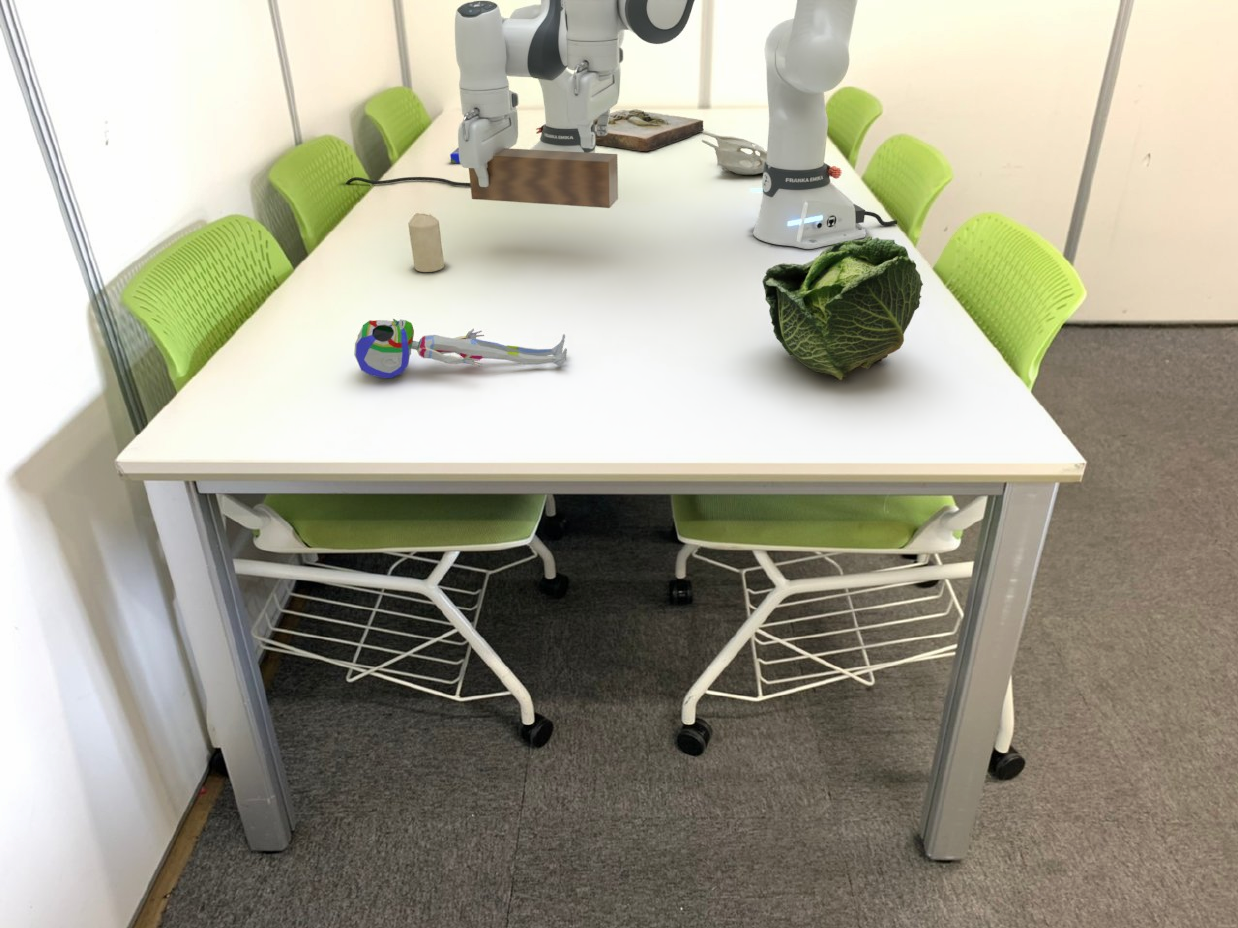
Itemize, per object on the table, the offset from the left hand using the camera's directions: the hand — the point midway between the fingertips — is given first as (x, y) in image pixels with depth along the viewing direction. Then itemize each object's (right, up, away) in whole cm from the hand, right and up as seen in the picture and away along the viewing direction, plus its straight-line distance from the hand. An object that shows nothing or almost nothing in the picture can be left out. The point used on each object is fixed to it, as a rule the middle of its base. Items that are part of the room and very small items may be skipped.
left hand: (492, 180), depth 169 cm
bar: (+10, -4, -1) cm, 11 cm away
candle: (-12, -17, -1) cm, 20 cm away
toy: (+1, -40, -37) cm, 54 cm away
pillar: (-18, +30, +74) cm, 82 cm away
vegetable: (+56, -39, -38) cm, 78 cm away
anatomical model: (+57, +19, +54) cm, 80 cm away
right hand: (+20, +4, -9) cm, 22 cm away
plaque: (+28, +41, +90) cm, 103 cm away
